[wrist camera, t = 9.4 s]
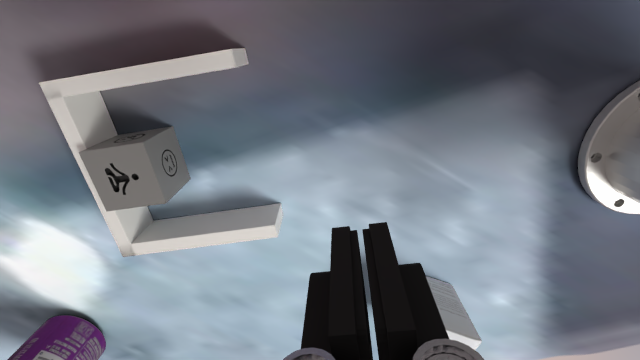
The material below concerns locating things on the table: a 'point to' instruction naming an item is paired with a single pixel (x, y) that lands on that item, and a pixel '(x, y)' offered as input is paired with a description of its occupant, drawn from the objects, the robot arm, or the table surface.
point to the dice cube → (137, 168)
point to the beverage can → (63, 341)
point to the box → (96, 126)
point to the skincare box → (453, 314)
